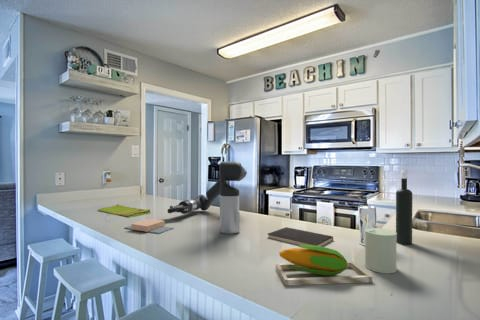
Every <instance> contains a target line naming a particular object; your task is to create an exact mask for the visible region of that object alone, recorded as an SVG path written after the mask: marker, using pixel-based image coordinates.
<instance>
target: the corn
mask: <svg viewBox="0 0 480 320" xmlns="http://www.w3.org/2000/svg"><path fill="white" fill-rule="evenodd" d="M278 253H279V256H280V258H281V259H284V260H285V261H287V262H288V263H293V264H295V265H298V266H302V267H306V268H301V267H296V266H290V265H289V266H288V267H291V268H293V269H292V270H297V271H300V272H304V273H309V274H315V275H320V276H324V277H334V276H337V275H340V274H342V272H344V271H346V269H347V268H348V267H347V265H348V263H347V262H348V261H347V259H346V258H345V256H344V255H343V254H341V253H340V252H339V251H337V250H336V249H334V248H330V247H323V246H321V247H320V246H313V245H298V247H293V248H292V247H291V248H287V249H283V250H281V251H279V252H278ZM307 268H311V269H307Z"/></svg>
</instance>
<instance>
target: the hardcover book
mask: <svg viewBox="0 0 480 320" xmlns="http://www.w3.org/2000/svg"><path fill="white" fill-rule="evenodd" d="M267 237H268V239H272V240H273V239H274V240H277V241H280V242H284V243H290V244H292V245H293V244H294V245H297V246H299V245H313V246H320V247H323V246H324V245H327V244H328V243H330V242H332V241H334V236H333V235H327V234H323V233H319V232H313V231H307V230H302V229H296V228H293V227H283V228H280V229H277V230H274V231H271V232H268V233H267Z"/></svg>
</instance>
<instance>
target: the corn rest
mask: <svg viewBox="0 0 480 320" xmlns="http://www.w3.org/2000/svg"><path fill="white" fill-rule="evenodd" d="M347 263H348V265H347V267H346V268H351V269H352V270H353V271H355V273H357V274H358V275H342V276H340V275H339V276H337V275H336V276H315V277H289V278H288V277H287V274H286V273H285V272H284V271H285V270H286V271H287V270H294V269H293V268H291V267H288V266H289V265H290V266H296V267H301V268H306V267H302V266H298V265H295V264H293V263H290V262H288V263H287V262H286V263H275V270H276V272H277V273H278V275H279V277H280V279H281V280H282V283H283V285H284V286H306V285H308V286H309V285H331V284H332V285H333V284H335V285H336V284H337V285H338V284H356V283H359V284H360V283H362V284H363V283H373V276H372V274H369V273H368V272H367V271H366V270H364V269H363V268H361V267H360V266H359V265H357V263H355V262H353V261H347ZM307 269H311V268H307Z"/></svg>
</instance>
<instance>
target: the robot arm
mask: <svg viewBox="0 0 480 320" xmlns="http://www.w3.org/2000/svg"><path fill="white" fill-rule="evenodd" d="M218 170H219V171H218V172H219V179H218V180H217V181H216V182H215V183H214V184H213V185H212V186H211V187H210V188H209V189H208V190H206V192H205V193H206V194H199V195H198V196H196V197H195V198H193V199H185V200H181V201H180V202H179V203H178V204H176V205H170V206H169V208H168V209H167V213H168V214H172V213H177V214H178V213H180V214H182V215H185V214H188V213H192V212H195V211H198V210H199V209H200V210H201V211H207V210H209V209H210V207H211V205H212V203H213V202H214V201H215V200H216V198H217V197H219V232H220V233H221V234H227V235H228V234H229V235H231V234H233V235H234V234H237V233H240V231H241V229H240V228H241V227H240V226H241V224H240V222H241V221H240V220H241V219H240V216H241V214H240V213H241V212H240V189H238V188H237V187H235V186H232V185H230V184H228V182H227V181H229V182H240V181H242V180H244V179H245V178H246V176H247V175H248V171H247V170H246V169H245V167H243V165H242V164H241V162H239V161H233V160H232V161H231V160H230V161H221V162H220V163H219V169H218ZM205 195H206V196H207V197H206V196H205Z"/></svg>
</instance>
